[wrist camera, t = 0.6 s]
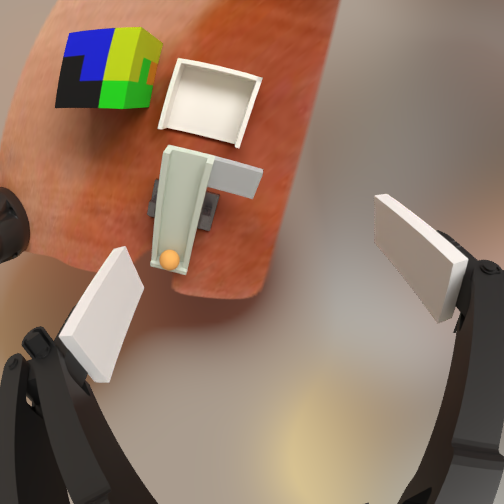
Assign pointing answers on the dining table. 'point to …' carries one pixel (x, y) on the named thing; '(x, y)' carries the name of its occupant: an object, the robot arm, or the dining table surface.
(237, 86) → the tray
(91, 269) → the dining table surface
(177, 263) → the ball
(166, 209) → the lever
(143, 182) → the dining table surface
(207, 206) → the fulcrum
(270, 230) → the dining table surface
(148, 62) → the puzzle toy
